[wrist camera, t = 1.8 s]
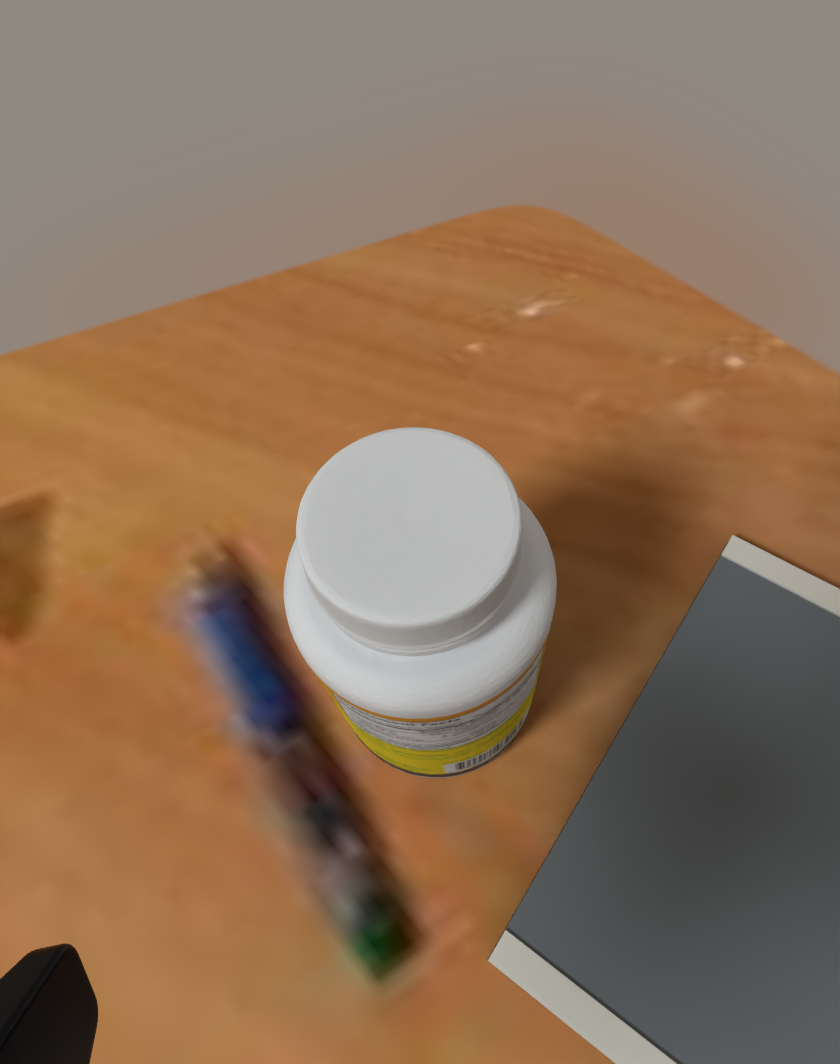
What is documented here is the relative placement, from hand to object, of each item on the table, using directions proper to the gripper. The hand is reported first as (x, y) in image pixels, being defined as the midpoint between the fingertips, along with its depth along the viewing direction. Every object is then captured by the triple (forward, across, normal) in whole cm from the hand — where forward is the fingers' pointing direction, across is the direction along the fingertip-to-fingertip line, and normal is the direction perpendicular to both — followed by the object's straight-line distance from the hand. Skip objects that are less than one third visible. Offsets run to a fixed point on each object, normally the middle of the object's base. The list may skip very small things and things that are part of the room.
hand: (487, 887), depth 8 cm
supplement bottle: (+13, 0, +5) cm, 14 cm away
